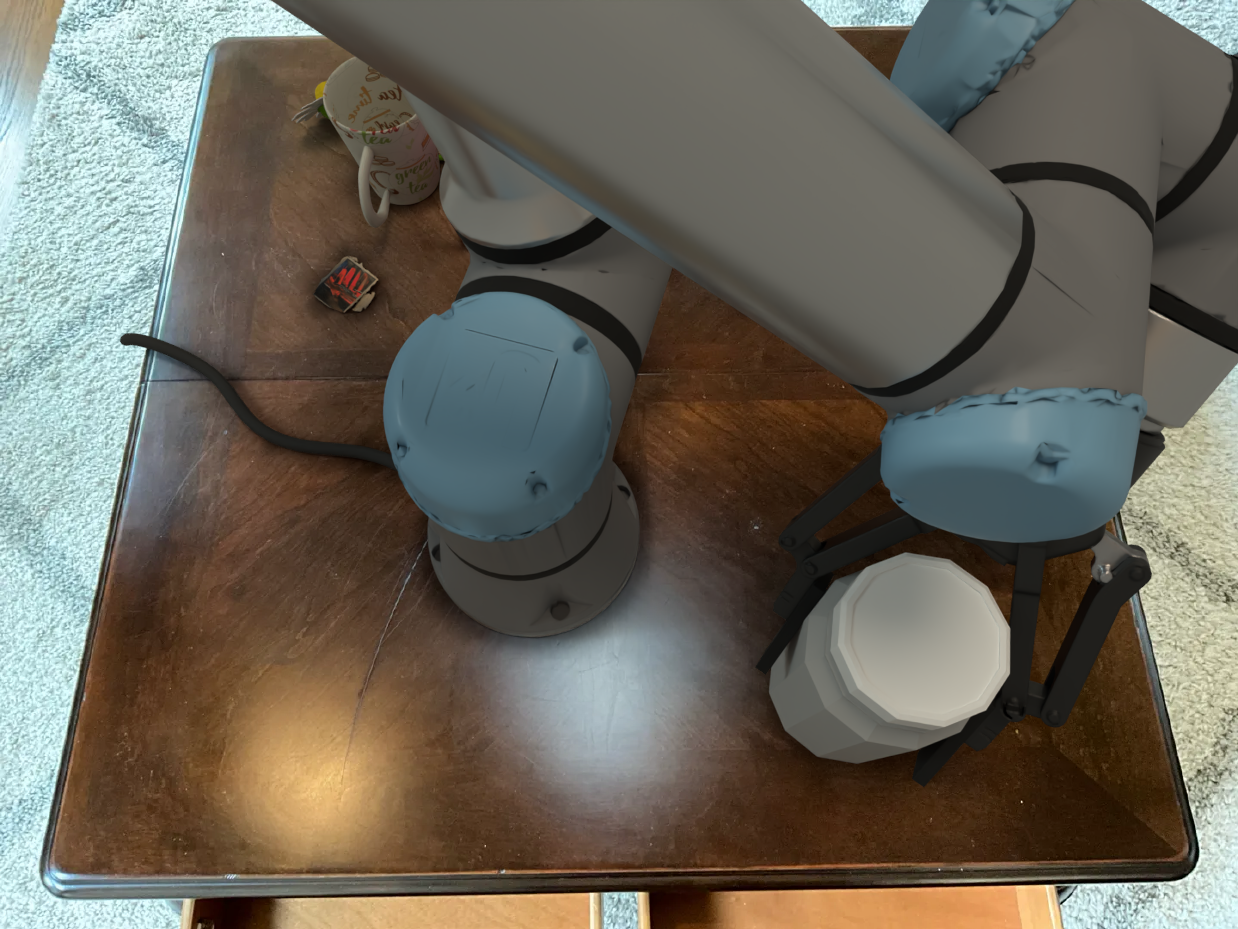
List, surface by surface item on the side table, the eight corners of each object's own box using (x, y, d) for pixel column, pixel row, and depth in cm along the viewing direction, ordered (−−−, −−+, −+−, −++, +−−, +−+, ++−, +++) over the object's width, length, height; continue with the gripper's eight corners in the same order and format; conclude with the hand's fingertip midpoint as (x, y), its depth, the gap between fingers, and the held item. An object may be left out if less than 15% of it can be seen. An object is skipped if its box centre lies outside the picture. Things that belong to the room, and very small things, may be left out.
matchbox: (309, 300, 73) (308, 297, 72) (341, 253, 74) (340, 249, 74) (359, 320, 72) (357, 317, 71) (390, 271, 74) (388, 268, 73)
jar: (755, 622, 60) (806, 547, 44) (895, 608, 61) (999, 529, 44) (777, 772, 57) (843, 752, 40) (927, 757, 57) (1053, 732, 40)
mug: (460, 143, 79) (438, 53, 70) (437, 261, 74) (409, 180, 65) (369, 137, 79) (334, 47, 70) (340, 254, 74) (298, 173, 65)
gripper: (1310, 499, 42) (1018, 796, 52) (898, 266, 47) (703, 578, 56) (1360, 556, 35) (1015, 884, 45) (874, 277, 40) (659, 628, 50)
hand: (842, 713), depth 51 cm, fingers closed on jar, 10 cm apart
